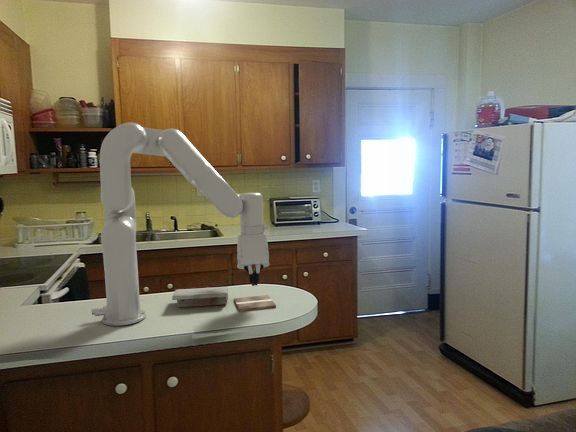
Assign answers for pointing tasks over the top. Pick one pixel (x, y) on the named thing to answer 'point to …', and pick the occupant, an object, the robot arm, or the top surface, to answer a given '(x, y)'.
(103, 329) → the top surface
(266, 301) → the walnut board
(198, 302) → the packaged product
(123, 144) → the robot arm
